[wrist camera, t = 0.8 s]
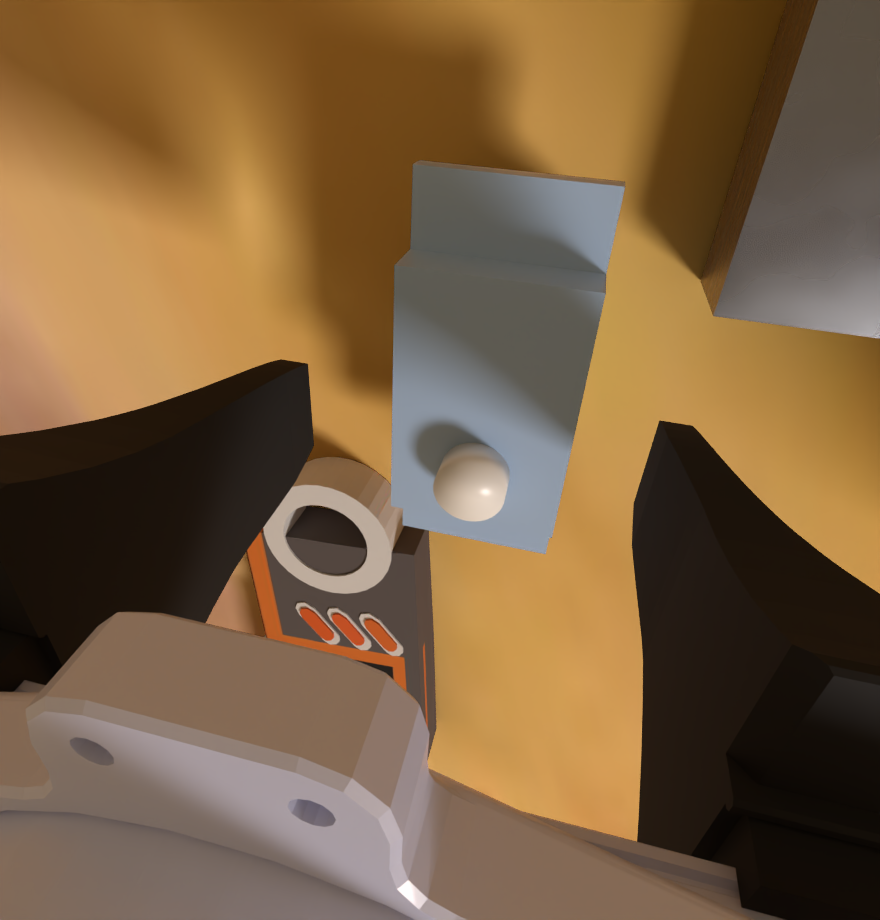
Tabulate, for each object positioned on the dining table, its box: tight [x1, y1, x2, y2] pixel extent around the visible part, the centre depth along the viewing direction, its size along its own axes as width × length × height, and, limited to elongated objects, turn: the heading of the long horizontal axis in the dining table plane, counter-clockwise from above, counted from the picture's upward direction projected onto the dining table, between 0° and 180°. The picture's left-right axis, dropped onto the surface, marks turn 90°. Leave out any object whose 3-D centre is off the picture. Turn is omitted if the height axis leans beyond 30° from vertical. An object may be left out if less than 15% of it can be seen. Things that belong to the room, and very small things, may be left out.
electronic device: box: [246, 457, 436, 760], centre depth 25 cm, size 7×3×15 cm
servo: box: [391, 160, 625, 554], centre depth 15 cm, size 4×9×6 cm, turn 177°
